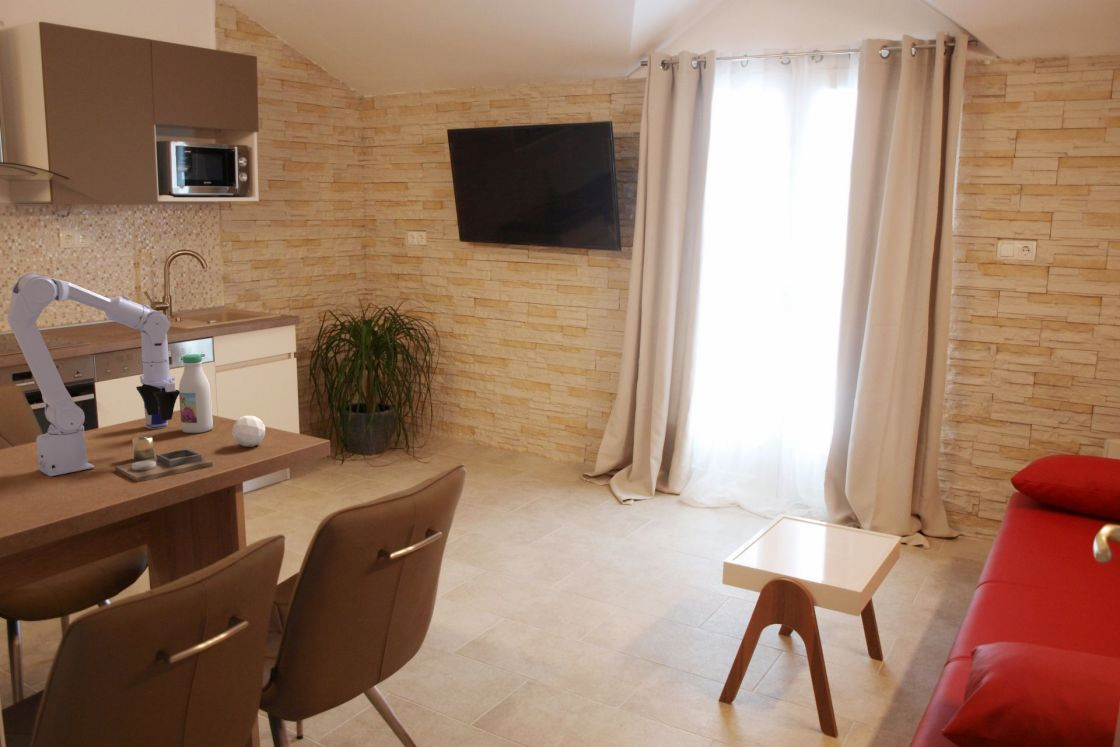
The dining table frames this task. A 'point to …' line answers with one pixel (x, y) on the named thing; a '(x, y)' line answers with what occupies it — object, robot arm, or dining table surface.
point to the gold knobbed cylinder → (143, 448)
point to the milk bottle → (195, 397)
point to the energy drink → (154, 420)
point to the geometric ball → (248, 431)
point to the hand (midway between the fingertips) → (159, 417)
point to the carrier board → (164, 465)
